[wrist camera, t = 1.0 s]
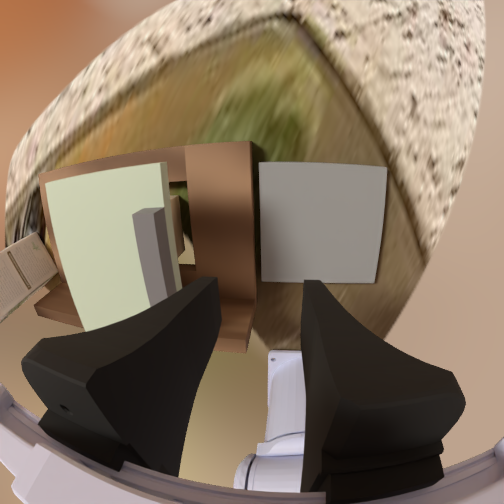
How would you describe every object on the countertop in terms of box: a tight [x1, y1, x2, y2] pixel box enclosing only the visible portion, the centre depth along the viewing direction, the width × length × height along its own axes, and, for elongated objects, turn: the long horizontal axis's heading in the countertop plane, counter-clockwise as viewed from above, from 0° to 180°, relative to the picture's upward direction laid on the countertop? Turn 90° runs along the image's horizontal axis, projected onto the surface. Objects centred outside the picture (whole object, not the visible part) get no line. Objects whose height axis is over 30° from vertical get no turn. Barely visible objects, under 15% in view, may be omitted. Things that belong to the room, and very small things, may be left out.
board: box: [34, 141, 257, 353], centre depth 19 cm, size 13×21×6 cm, turn 92°
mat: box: [259, 162, 387, 283], centre depth 19 cm, size 9×9×1 cm
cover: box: [45, 162, 182, 332], centre depth 15 cm, size 12×9×2 cm
